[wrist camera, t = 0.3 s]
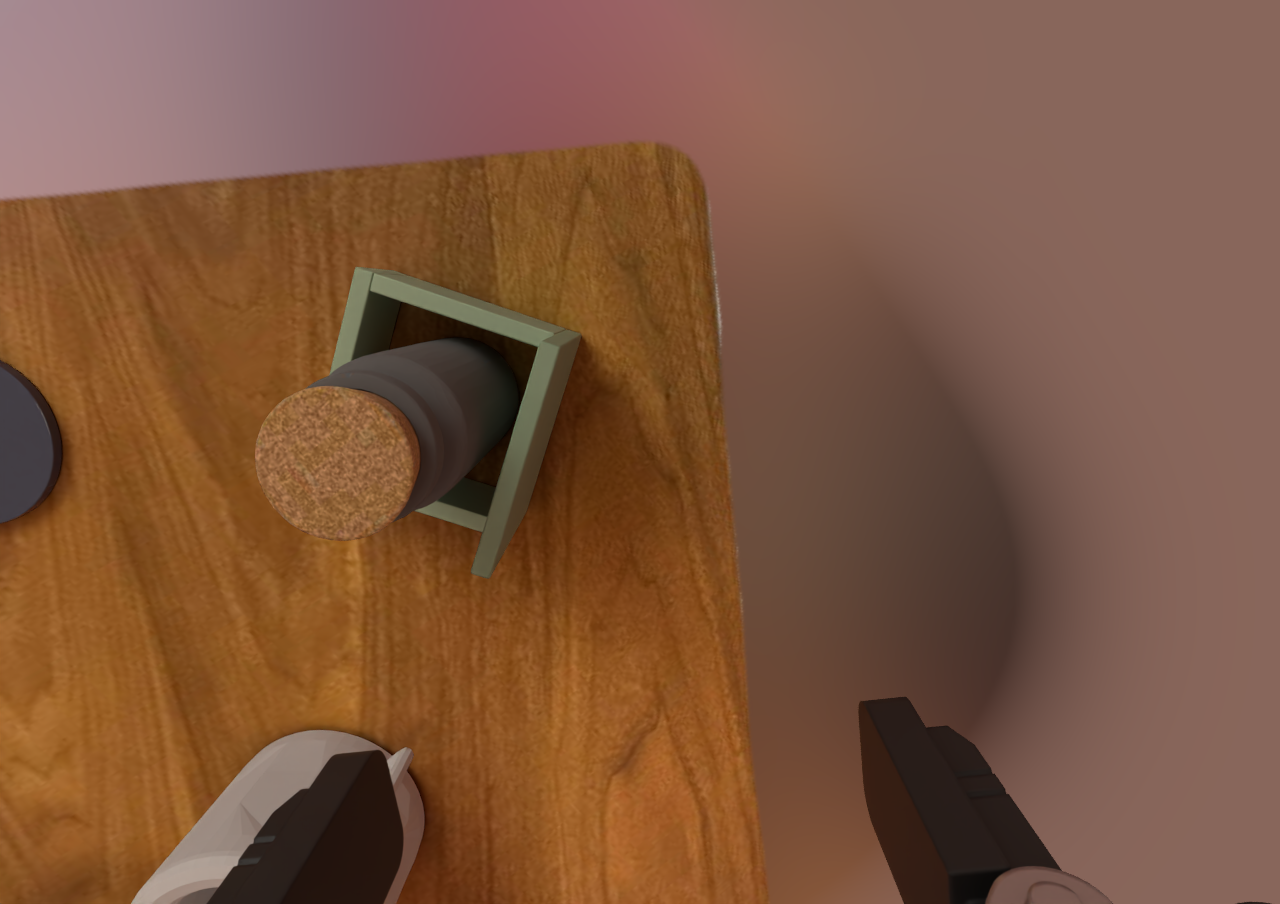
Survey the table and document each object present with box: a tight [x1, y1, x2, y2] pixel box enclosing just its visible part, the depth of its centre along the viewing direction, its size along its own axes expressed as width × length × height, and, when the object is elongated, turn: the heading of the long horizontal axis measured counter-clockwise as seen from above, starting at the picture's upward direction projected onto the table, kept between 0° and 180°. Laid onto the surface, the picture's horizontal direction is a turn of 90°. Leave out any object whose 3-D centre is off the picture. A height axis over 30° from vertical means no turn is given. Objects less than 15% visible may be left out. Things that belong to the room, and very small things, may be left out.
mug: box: [131, 730, 424, 904], centre depth 36 cm, size 14×11×10 cm
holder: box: [330, 267, 581, 578], centre depth 31 cm, size 10×10×9 cm
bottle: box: [255, 337, 519, 541], centre depth 28 cm, size 6×6×15 cm
